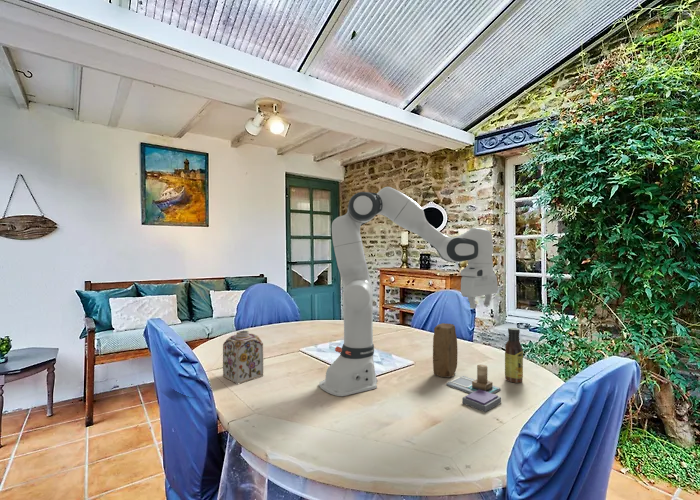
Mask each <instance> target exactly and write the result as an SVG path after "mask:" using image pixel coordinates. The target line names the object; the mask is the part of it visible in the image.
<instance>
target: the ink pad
mask: <svg viewBox="0 0 700 500" xmlns="http://www.w3.org/2000/svg"><path fill="white" fill-rule="evenodd" d="M501 403H502V396H499V395H498V394H495V393H494V394H492V393H489V392H486V391H483V390H480V389H479V390H477V391H475V392H473V393H471V394H470V393H468V394H467V395H465V396H463V397H462V404H463V405H467V406H469V407H472V408H474V409H477V410H479V411H481V412H485V413H486V412H488V411H490V410H491V409H493V408H495V407H496V406H498V405H499V404H501Z"/></svg>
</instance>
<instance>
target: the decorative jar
mask: <svg viewBox="0 0 700 500" xmlns="http://www.w3.org/2000/svg"><path fill="white" fill-rule="evenodd" d="M222 376H224V377H223V378H225V379H227V380H229V381H230V380H231V382H233V383H234V382H235V384H236V383H237V384H236V385H239V384H238V383H240V384H243V383H246V382H249V381H252V380H251V379H253V380H255V379H254V378H256V379H257V377H259V378H261V376H262V377H264V343H263V341H262V340H261V338H260V336H259V335H257V334H254V333H250V332H249V331H248V330H239V331H238V330H237V331H236V334H233V335H231V336H229V337H228V338H227V339H226V340H225V341H224V342H223V344H222ZM248 380H249V381H248ZM245 381H246V382H245ZM242 382H243V383H242Z"/></svg>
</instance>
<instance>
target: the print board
mask: <svg viewBox="0 0 700 500" xmlns="http://www.w3.org/2000/svg"><path fill="white" fill-rule="evenodd" d="M474 380H476V379H474V378H472V377H468V376H464V375H461V376H458V377H456V378H454V379H452V380H449V381H448V382H446V386H447V387H448V386H449V387H450V388H453V389H456V390H459V391H463V392H465V393H467V394H471V393H473V392H475V391H477V390H476V389H473V388H472V381H474ZM500 391H501V387H499V386H496V385H493V389H491V390H489V391H488V392H489V393H492V394H495V393H497V392H500Z"/></svg>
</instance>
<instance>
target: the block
mask: <svg viewBox="0 0 700 500" xmlns="http://www.w3.org/2000/svg"><path fill="white" fill-rule="evenodd" d="M433 331H434V332H433V338H432V367H433V368H432V369H433V371H432V372H433V374H434V375H436V376H438V377H440V378H451V377H453V376H454V375H455V374H456V370H457V367H458V338H457V333H456V326H455V324H453V323H445V322H444V323H443V322H442V323H440V324H437V325H436V326H435V327H434V328H433Z"/></svg>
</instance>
